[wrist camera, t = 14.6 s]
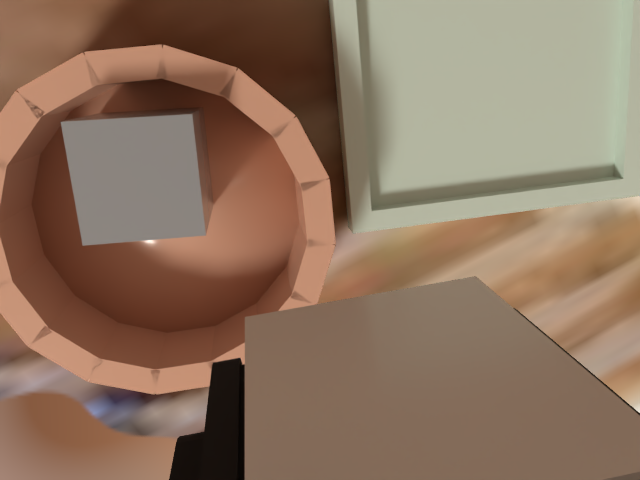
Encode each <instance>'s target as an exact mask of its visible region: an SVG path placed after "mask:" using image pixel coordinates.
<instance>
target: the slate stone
mask: <svg viewBox="0 0 640 480" xmlns="http://www.w3.org/2000/svg"><path fill="white" fill-rule="evenodd" d="M61 127H62V132H63V138H64V144H65V149H66V155H67V161H68V166H69V172H70V177H71V183H72V189H73V194H74V200H75V205H76V211H77V217H78V222H79V228H80V233H81V239H82V245H83V246H85V245H97V244H109V243H121V242H133V241H145V240H157V239H169V238H182V237H194V236H206V233H207V229H208V225H209V221H210V217H211V213H212V209H213V205H214V204H213V194H212V185H211V176H210V166H209V157H208V148H207V138H206V129H205V120H204V110H203V107H195V108H178V109H161V110H143V111H126V112H109V113H98V114H93V115H89V116H84V117H80V118H75V119H71V120H66V121H62V122H61Z"/></svg>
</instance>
